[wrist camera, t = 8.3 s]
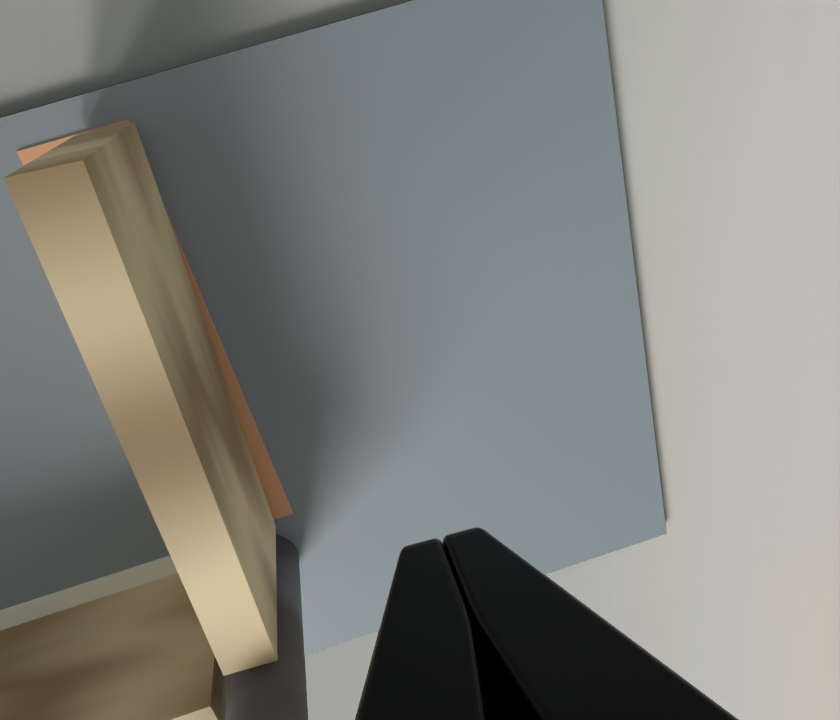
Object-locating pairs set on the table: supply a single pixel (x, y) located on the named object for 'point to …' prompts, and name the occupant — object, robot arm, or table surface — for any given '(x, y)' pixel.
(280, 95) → the card
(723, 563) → the table surface
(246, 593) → the fence panel
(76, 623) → the fence base
